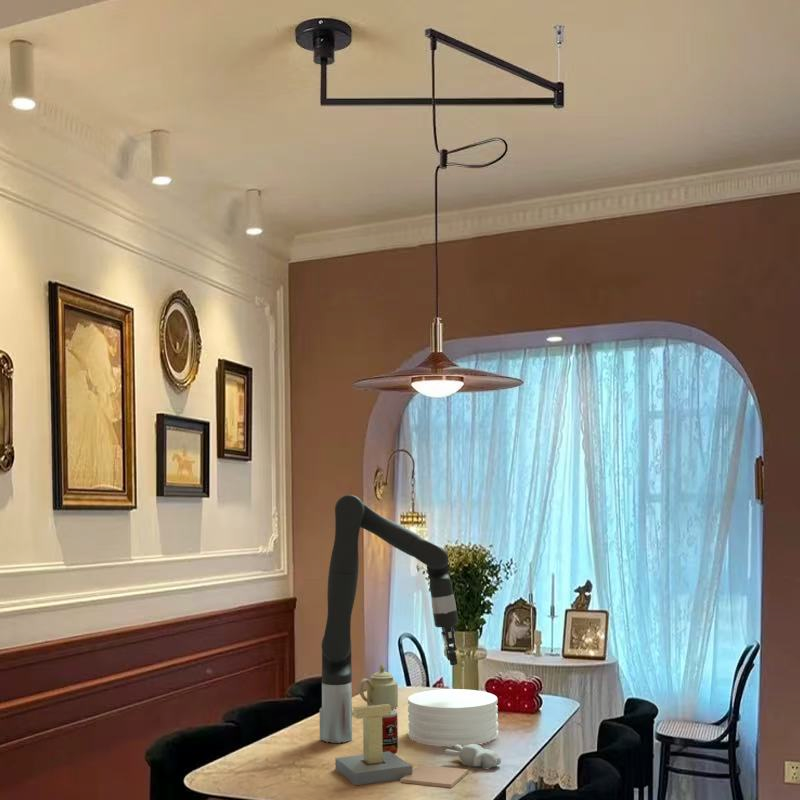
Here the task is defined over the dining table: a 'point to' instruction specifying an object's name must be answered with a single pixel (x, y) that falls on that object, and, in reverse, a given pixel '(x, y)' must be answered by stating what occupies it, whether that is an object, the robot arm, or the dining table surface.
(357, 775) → the cover plate
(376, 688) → the sugar bowl
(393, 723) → the canned food
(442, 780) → the tile
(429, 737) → the plate stack
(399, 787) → the dining table surface
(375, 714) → the t key
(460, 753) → the bunny figurine
